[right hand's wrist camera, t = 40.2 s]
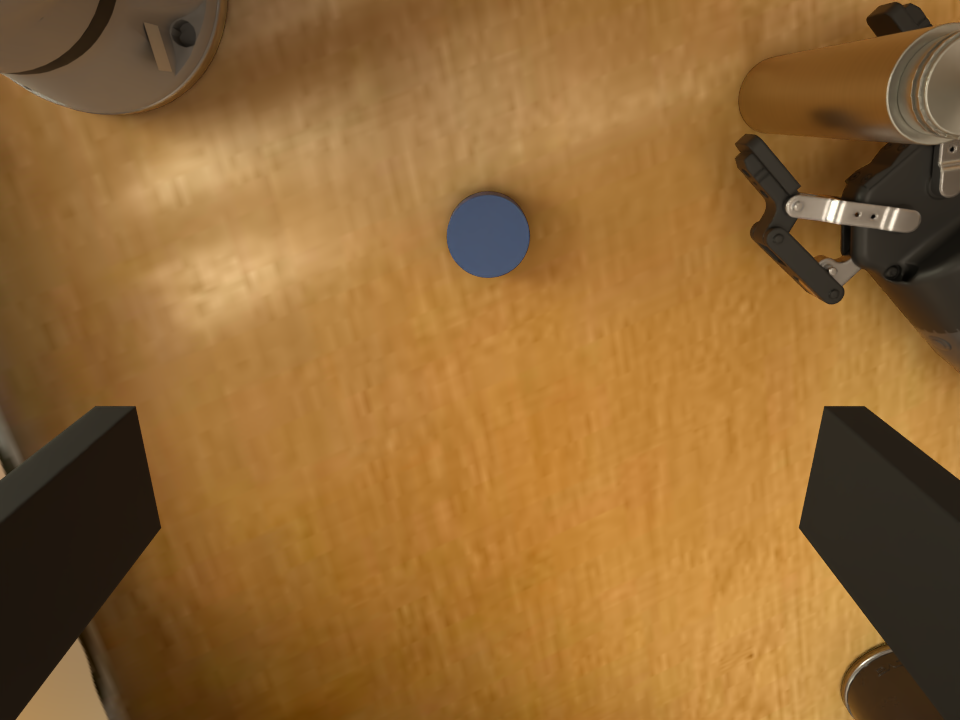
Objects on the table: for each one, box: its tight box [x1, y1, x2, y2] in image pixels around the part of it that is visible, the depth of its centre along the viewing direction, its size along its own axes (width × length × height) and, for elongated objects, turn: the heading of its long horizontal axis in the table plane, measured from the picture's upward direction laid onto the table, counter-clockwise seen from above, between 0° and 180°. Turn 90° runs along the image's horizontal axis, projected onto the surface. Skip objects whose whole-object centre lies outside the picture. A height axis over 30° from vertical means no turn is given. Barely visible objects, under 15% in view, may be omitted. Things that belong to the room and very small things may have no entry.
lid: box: [447, 191, 530, 278], centre depth 42 cm, size 5×5×2 cm
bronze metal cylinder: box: [739, 22, 960, 145], centre depth 32 cm, size 4×4×18 cm
